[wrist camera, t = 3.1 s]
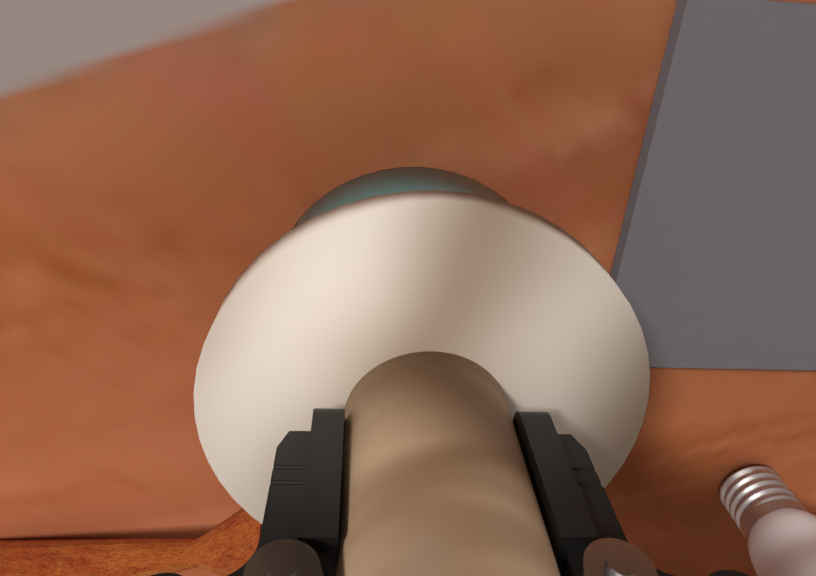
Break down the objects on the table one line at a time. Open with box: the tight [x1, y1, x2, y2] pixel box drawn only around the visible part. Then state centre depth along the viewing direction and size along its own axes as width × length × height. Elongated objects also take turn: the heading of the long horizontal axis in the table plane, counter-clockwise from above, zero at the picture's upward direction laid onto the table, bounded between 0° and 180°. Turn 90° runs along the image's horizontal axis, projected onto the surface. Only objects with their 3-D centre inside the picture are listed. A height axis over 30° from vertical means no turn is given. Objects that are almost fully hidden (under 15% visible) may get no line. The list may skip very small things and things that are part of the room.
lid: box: [194, 190, 650, 576], centre depth 13 cm, size 11×11×7 cm
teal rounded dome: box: [291, 167, 509, 230], centre depth 19 cm, size 9×9×7 cm
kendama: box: [0, 508, 262, 576], centre depth 25 cm, size 6×6×20 cm
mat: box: [610, 0, 816, 371], centre depth 21 cm, size 13×13×1 cm
